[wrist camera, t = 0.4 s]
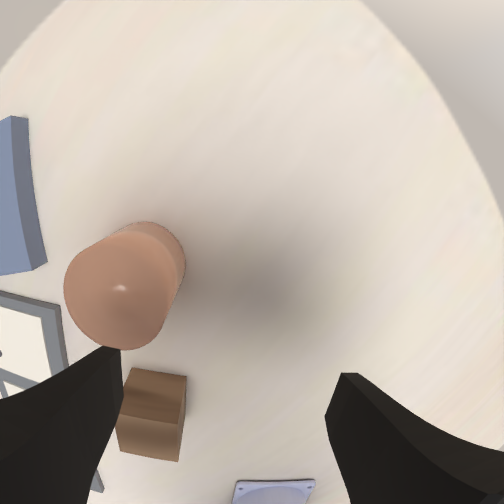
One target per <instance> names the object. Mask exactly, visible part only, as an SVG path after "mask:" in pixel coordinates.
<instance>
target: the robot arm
mask: <svg viewBox="0 0 504 504" xmlns="http://www.w3.org/2000/svg"><path fill="white" fill-rule="evenodd" d="M123 398H124V392H123V381H122V368H121V353H120V349H117V348H113V347H108V346H101V347H99V348H98V349H96V350H94V351H93V352H91V353H90V354H88V355H87V356H85V357H83V358H82V359H80V360H79V361H77V362H75V363H74V364H72V365H71V366H69V367H67V368H66V369H64V370H62V371H61V372H59V373H57V374H55V375H54V376H52V377H50V378H48V379H46V380H44V381H42V382H41V383H39V384H37V385H35V386H33V387H31V388H28V389H26V390H24V391H21V392H19V393H16V394H14V395H11V396H9V397H6V398H3V399H0V504H87V500H88V496H89V492H90V488H91V484H92V480H93V477H94V474H95V471H96V469H97V466H98V464H99V462H100V459H101V457H102V455H103V452H104V450H105V448H106V445H107V443H108V441H109V439H110V436H111V434H112V432H113V429H114V427H115V425H116V422H117V419H118V416H119V413H120V409H121V405H122V402H123ZM325 421H326V427H327V432H328V437H329V441H330V444H331V447H332V450H333V453H334V455H335V458H336V461H337V464H338V466H339V469H340V472H341V475H342V477H343V480H344V483H345V486H346V488H347V492H348V495H349V498H350V503H351V504H504V452H502V451H498V450H494V449H489V448H486V447H482V446H479V445H476V444H473V443H470V442H468V441H465V440H462V439H460V438H457V437H455V436H453V435H451V434H449V433H447V432H445V431H443V430H441V429H439V428H437V427H435V426H433V425H431V424H430V423H428V422H426V421H425V420H423V419H421V418H420V417H418V416H417V415H415V414H414V413H412V412H411V411H409V410H408V409H406V408H405V407H403V406H402V405H401V404H399V403H398V402H396V401H395V400H394V399H392V398H391V397H390V396H388V395H387V394H386V393H384V392H383V391H382V390H381V389H379V388H378V387H377V386H375V385H374V384H373V383H371V382H370V381H369V380H367V379H366V378H364V377H363V376H362V375H360V374H358V373H341V374H340V377H339V380H338V383H337V385H336V388H335V391H334V394H333V396H332V399H331V401H330V404H329V406H328V409H327V411H326V414H325ZM315 485H316V482H315V481H314V480H305V481H285V482H245V481H240V482H238V483H236V487H235V492H234V496H233V500H232V504H306V500H307V499H308V497H309V495H310V493H311V492H312V490H313V488H314V486H315Z"/></svg>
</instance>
